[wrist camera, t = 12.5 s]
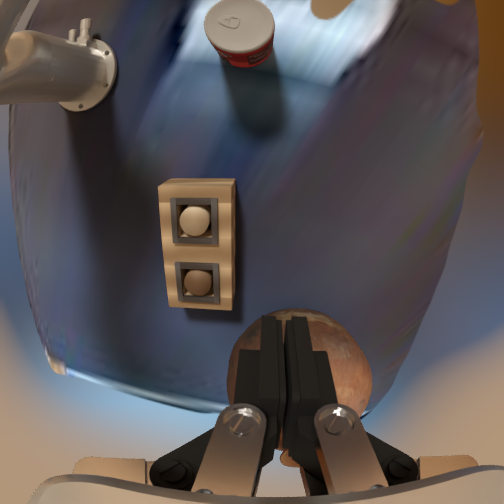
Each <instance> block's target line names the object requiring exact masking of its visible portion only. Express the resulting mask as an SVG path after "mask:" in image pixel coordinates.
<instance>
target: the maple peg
mask: <svg viewBox="0 0 504 504" xmlns="http://www.w3.org/2000/svg"><path fill="white" fill-rule="evenodd" d="M210 222H211V205H189V206H188V207H187V208H186V209H185V210H184V211H183V212H182V214H181V216H180V226H181V228H182V229H183V231H184V232H185V233H187V234H189V235H192V236H197V235H201V234H202V233H204V232H205V231H206V229H207V228H208V226H209V224H210Z"/></svg>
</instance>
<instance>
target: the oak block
mask: <svg viewBox="0 0 504 504" xmlns="http://www.w3.org/2000/svg"><path fill="white" fill-rule="evenodd" d="M158 194H159V210H160V223H161V236H162V247H163V257H164V267H165V276H166V285H167V293H168V301H169V306H170V307H183V308H199V309H215V310H232V307H233V301H234V295H235V179H225V178H179V179H169V180H168V181H166V182H164V183H163V184H161V185H160V186H158ZM187 205H211V224H209V226H208V228H207V229H206V231H205V232H204V233H202V234H201V235H197V236H192V235H189V234H187V233H185V232H184V231H183V229H182V228H181V226H180V216H181V214H182V212H183V211H184V210H185V209H186V208H187ZM189 269H202V270H213V281H212V284H211V287H210V290H209V291H208V292H207V293H206V294H204V295H200V296H198V295H193V294H191V293H190V292H188V291H187V289H186V288H185V285H184V279H185V277H186V275H187V273H188V271H189Z"/></svg>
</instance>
